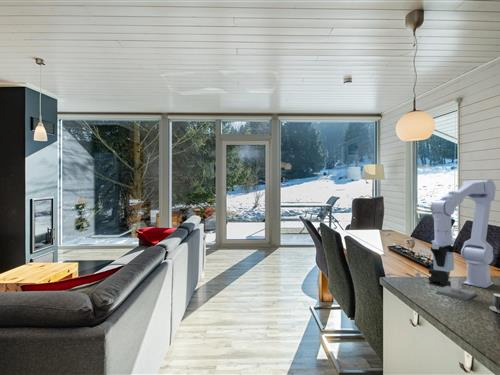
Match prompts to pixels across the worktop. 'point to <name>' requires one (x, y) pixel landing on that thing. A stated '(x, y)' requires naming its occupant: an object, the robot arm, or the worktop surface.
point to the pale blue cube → (448, 263)
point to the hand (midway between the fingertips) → (443, 265)
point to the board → (461, 295)
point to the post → (456, 284)
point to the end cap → (438, 276)
